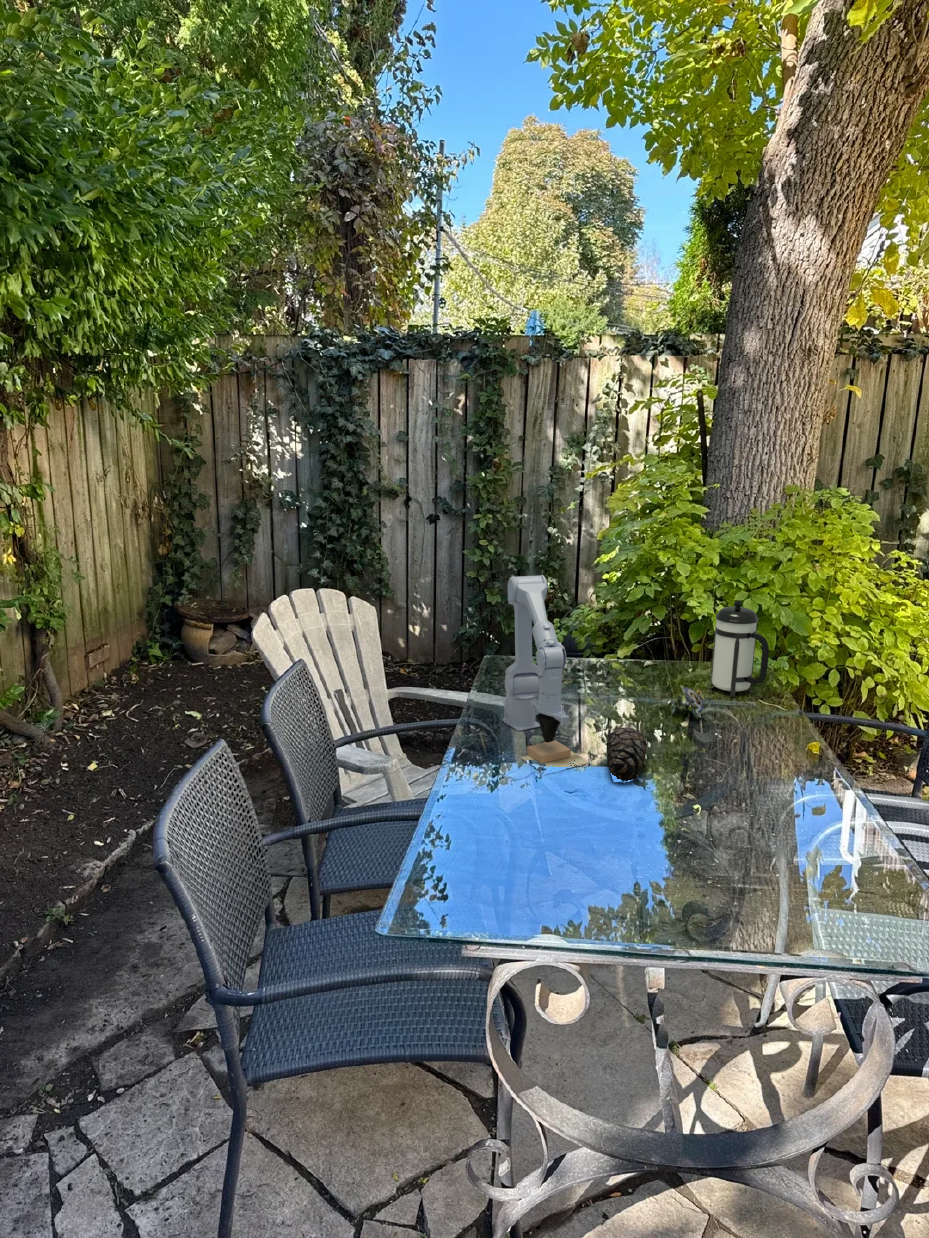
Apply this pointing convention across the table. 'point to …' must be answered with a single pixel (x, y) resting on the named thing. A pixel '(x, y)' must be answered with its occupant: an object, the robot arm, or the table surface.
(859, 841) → the table surface
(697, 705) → the passion flower
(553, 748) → the block
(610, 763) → the pine cone
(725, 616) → the coffee press
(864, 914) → the table surface
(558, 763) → the board
